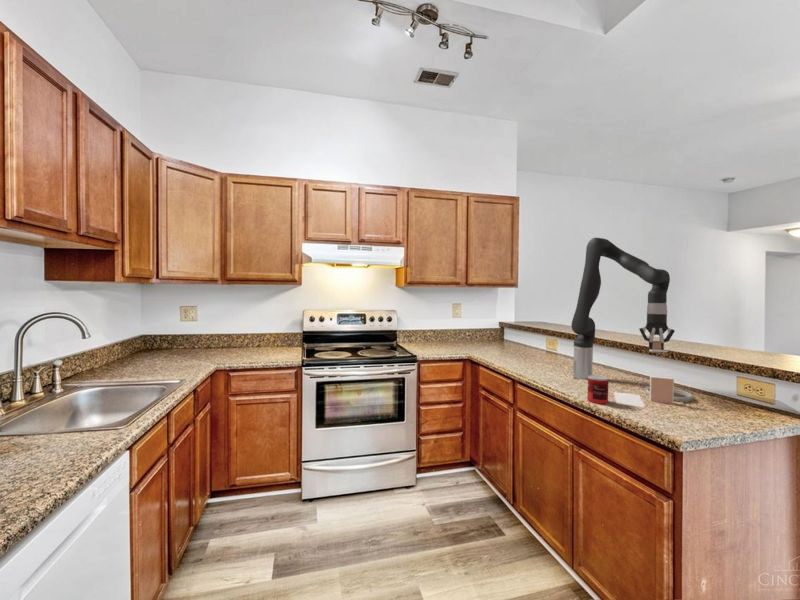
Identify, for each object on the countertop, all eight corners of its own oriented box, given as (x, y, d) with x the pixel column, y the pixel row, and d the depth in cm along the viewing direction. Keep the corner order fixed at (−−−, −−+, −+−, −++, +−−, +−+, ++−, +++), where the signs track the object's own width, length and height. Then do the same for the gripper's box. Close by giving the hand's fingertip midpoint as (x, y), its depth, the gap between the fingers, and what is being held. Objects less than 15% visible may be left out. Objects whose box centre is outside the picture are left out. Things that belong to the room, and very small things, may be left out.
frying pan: (655, 381, 183) (703, 396, 155) (655, 387, 183) (703, 403, 155) (622, 381, 182) (664, 397, 154) (622, 387, 182) (664, 404, 154)
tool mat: (616, 404, 152) (616, 403, 152) (613, 393, 169) (613, 392, 169) (645, 408, 148) (645, 407, 148) (639, 395, 164) (639, 394, 164)
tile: (650, 402, 155) (650, 376, 155) (649, 401, 157) (650, 376, 156) (673, 405, 152) (673, 379, 151) (672, 404, 153) (673, 378, 153)
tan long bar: (646, 352, 172) (646, 341, 173) (662, 353, 170) (661, 342, 170) (651, 350, 159) (651, 339, 160) (668, 351, 157) (668, 340, 157)
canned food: (596, 398, 160) (596, 374, 160) (612, 404, 153) (613, 378, 153) (583, 400, 158) (583, 375, 157) (599, 406, 150) (599, 380, 150)
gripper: (673, 312, 166) (673, 350, 167) (637, 312, 173) (636, 348, 173) (677, 313, 160) (676, 352, 160) (639, 312, 166) (639, 350, 167)
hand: (656, 350), depth 167 cm, fingers closed on tan long bar, 2 cm apart
